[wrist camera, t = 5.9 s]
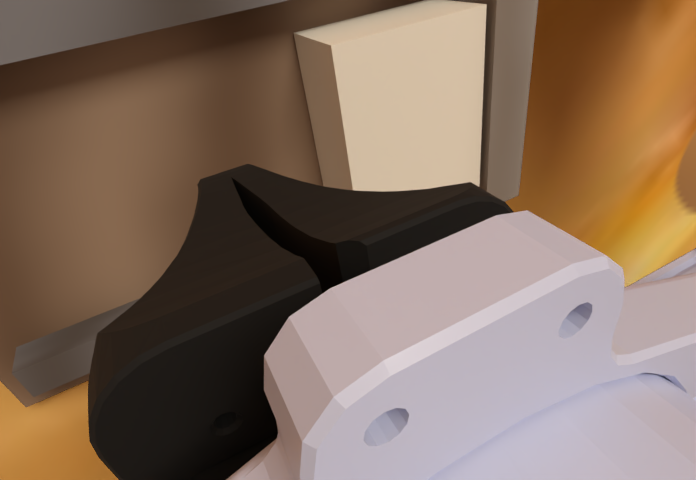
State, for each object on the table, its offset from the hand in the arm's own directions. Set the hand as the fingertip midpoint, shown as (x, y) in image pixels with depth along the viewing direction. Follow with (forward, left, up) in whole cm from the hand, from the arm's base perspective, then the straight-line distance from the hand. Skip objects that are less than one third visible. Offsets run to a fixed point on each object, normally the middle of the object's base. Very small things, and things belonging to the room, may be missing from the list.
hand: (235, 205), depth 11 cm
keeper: (-6, 0, -4) cm, 8 cm away
